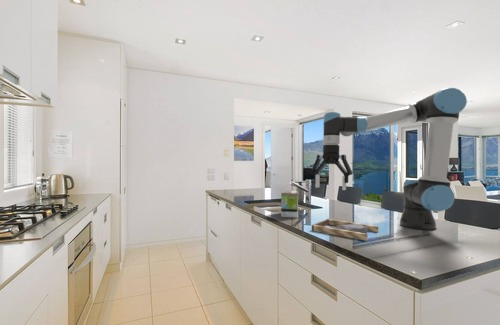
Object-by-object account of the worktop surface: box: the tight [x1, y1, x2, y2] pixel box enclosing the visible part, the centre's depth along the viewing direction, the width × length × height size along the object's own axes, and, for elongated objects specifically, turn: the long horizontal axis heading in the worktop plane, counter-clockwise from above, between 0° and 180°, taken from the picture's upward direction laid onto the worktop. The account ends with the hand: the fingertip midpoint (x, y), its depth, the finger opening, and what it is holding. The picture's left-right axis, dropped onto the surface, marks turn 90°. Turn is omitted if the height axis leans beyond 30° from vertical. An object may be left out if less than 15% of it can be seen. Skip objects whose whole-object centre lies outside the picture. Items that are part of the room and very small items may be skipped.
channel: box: [311, 218, 379, 241], centre depth 117 cm, size 24×18×2 cm
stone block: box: [335, 223, 369, 234], centre depth 115 cm, size 12×5×10 cm
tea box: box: [280, 190, 299, 219], centre depth 155 cm, size 15×10×15 cm
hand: (330, 188), depth 120 cm, fingers open, 13 cm apart
